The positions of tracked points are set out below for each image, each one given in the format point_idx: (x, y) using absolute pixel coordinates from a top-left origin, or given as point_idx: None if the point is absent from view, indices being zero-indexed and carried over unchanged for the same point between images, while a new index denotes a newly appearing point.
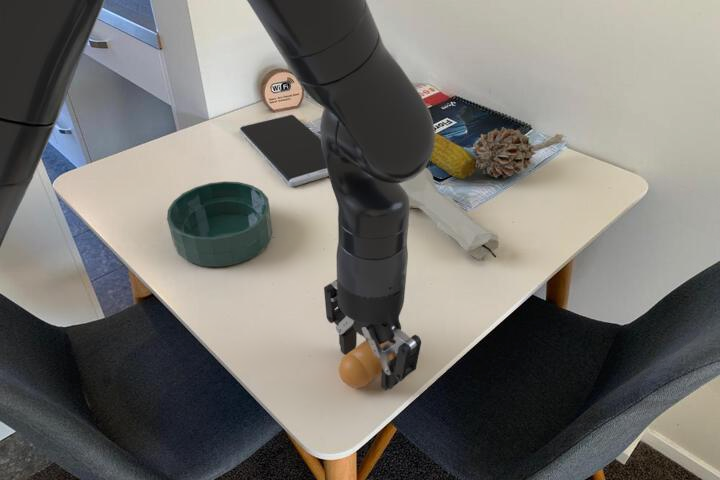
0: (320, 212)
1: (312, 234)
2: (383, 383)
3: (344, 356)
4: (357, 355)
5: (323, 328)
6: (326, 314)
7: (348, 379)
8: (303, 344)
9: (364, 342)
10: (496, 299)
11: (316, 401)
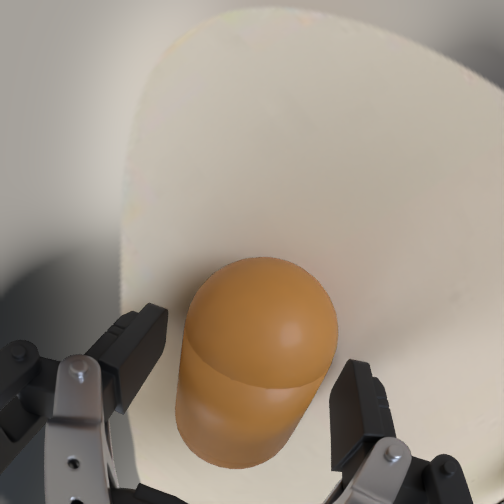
0: (482, 499)
1: (492, 480)
2: (141, 320)
3: (325, 363)
4: (254, 395)
5: (445, 386)
6: (464, 477)
7: (250, 272)
8: (481, 318)
9: (278, 438)
10: None
11: (346, 145)
